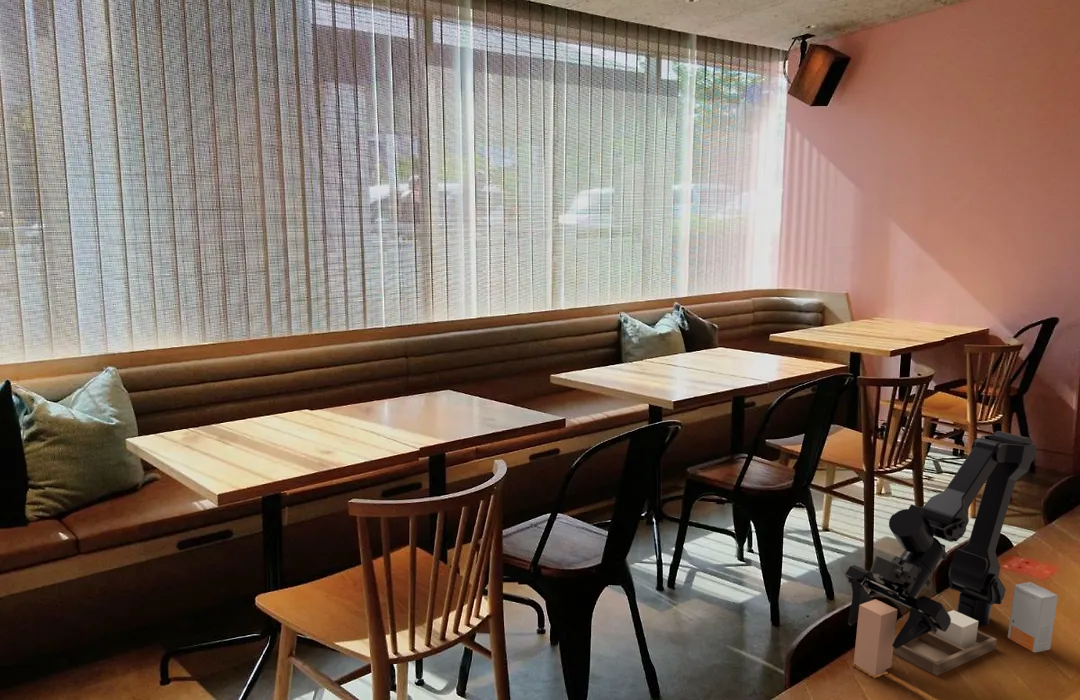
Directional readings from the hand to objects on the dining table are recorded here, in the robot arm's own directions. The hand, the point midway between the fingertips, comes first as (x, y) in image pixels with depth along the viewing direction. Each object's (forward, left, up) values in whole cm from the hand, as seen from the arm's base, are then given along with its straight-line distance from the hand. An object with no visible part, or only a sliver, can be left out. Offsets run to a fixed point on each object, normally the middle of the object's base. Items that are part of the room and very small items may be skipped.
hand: (871, 635), depth 148 cm
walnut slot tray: (-17, +3, -7) cm, 19 cm away
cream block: (-22, +3, -6) cm, 23 cm away
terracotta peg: (-1, 0, -7) cm, 7 cm away
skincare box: (-34, +10, -7) cm, 36 cm away
